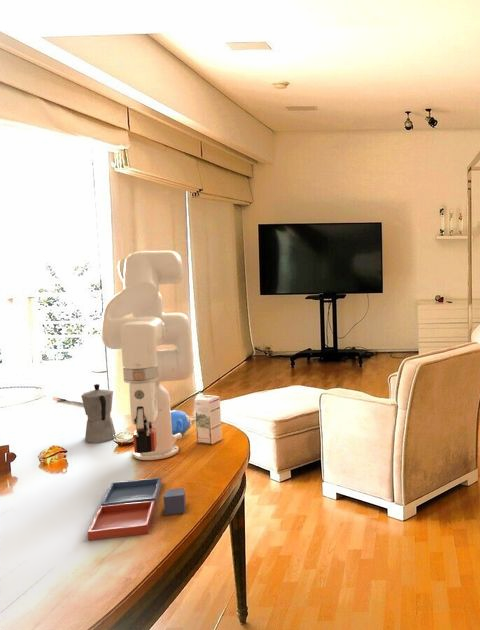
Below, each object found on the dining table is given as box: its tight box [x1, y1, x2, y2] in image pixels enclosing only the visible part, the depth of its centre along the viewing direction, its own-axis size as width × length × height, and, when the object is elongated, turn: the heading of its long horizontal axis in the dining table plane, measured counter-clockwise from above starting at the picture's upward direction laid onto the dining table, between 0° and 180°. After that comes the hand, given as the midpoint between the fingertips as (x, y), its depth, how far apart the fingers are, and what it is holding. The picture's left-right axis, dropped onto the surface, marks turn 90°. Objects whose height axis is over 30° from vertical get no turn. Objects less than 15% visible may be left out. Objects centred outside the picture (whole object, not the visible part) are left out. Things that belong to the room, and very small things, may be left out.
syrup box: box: [194, 394, 223, 445], centre depth 214 cm, size 6×6×14 cm
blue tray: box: [100, 477, 163, 507], centre depth 171 cm, size 14×12×2 cm
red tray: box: [87, 500, 156, 541], centre depth 156 cm, size 14×12×2 cm
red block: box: [132, 428, 157, 453], centre depth 161 cm, size 4×4×4 cm
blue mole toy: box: [171, 409, 196, 436], centre depth 222 cm, size 12×12×8 cm
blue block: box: [163, 487, 187, 516], centre depth 163 cm, size 4×4×4 cm
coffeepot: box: [80, 383, 117, 444], centre depth 217 cm, size 15×9×18 cm, turn 37°
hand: (145, 448), depth 161 cm, fingers closed on red block, 4 cm apart
